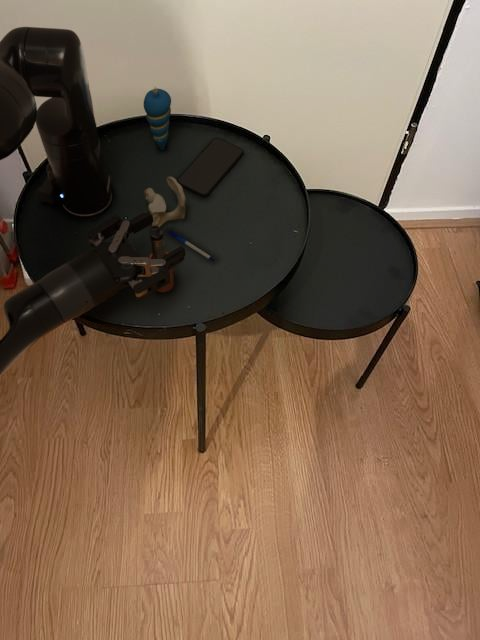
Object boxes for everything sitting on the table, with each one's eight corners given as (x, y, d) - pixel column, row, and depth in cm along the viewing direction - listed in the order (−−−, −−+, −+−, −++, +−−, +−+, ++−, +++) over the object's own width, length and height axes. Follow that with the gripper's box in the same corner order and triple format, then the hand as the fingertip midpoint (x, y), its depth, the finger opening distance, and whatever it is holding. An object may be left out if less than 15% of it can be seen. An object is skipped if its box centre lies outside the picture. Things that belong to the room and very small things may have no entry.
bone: (127, 218, 101) (141, 167, 96) (145, 210, 107) (158, 161, 102) (167, 239, 100) (183, 188, 95) (183, 229, 106) (198, 181, 101)
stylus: (155, 285, 96) (147, 236, 84) (159, 276, 97) (152, 226, 85) (166, 288, 95) (160, 239, 84) (170, 279, 96) (164, 229, 85)
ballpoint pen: (166, 234, 102) (166, 230, 101) (170, 231, 103) (169, 228, 102) (212, 262, 100) (212, 258, 99) (215, 259, 100) (215, 255, 99)
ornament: (178, 144, 114) (173, 80, 101) (169, 161, 112) (164, 98, 99) (154, 139, 115) (147, 74, 102) (145, 155, 112) (136, 92, 99)
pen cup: (149, 289, 96) (145, 265, 90) (156, 272, 98) (153, 248, 92) (170, 294, 95) (167, 270, 89) (176, 277, 97) (174, 253, 91)
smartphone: (174, 181, 108) (215, 135, 114) (174, 184, 108) (215, 139, 115) (206, 196, 106) (246, 149, 113) (206, 200, 107) (245, 153, 113)
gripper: (99, 305, 75) (194, 247, 81) (46, 240, 80) (138, 189, 86) (108, 332, 82) (196, 276, 87) (58, 270, 87) (143, 221, 93)
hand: (167, 233), depth 87 cm, fingers open, 8 cm apart
